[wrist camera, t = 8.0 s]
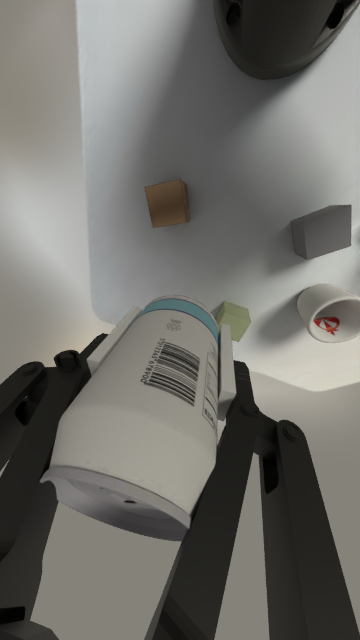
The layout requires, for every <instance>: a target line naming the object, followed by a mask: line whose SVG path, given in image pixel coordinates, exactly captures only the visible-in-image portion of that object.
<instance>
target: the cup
mask: <svg viewBox="0 0 360 640" xmlns="http://www.w3.org/2000/svg"><path fill="white" fill-rule="evenodd" d="M297 309H298V312H299V314H300V316H301V318H302V320H303V322H304V324H305V326H306V328H307V330H308V332H309V333H310V335H311V336H312V337H313V338H315V339H317V340H319V341H322V342H326V343H339V342H344V341H347V340H350V339H353V338H355V337H357V336H358V335H360V296H357V295H354V294H352V293H350V292H347V291H345V290H343V289H340V288H338V287H336V286H333V285H329V284H318V285H314V286H311V287H309V288H307V289H306V290H305V291H303V292H302V293H301V295H300V296H299V298H298V300H297Z"/></svg>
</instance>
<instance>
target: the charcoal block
mask: <svg viewBox="0 0 360 640" xmlns="http://www.w3.org/2000/svg"><path fill="white" fill-rule="evenodd" d="M291 226H292V234H293V242H294V250H295V253H296V254H297V255H299V256H301V257H303V258H304V259H306V260H309V259H312V258H315V257H318V256H322V255H325V254H328V253H331V252H334V251H337V250H340V249H343V248H346V247H350V246H351V205H333V206H328V207H325V208H323V209H320V210H318V211H315V212H313V213H310V214H308V215H305V216H303V217H300V218H298V219H295V220H293V221H291Z"/></svg>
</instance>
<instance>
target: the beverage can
mask: <svg viewBox="0 0 360 640" xmlns="http://www.w3.org/2000/svg"><path fill="white" fill-rule="evenodd" d="M218 338H219V332H218V325H217V322H216V320H215V318H214V316H213V315H212V313H211V312H210V311H209V310H208V309H207V308H206V307H205V306H204V305H202V304H201V303H199V302H198V301H196V300H194V299H191V298H188V297H185V296H179V295H168V296H163V297H160V298H157V299H155V300H153V301H152V302H150V303H149V304H148V305H147V306H146V307H145V309H144V310H143V311H142V312H141V314H140V315H139V316H138V318H137V319H136V320H135V322H134V323H133V324H132V325H131V327H130V328H129V329H128V331H127V332H126V333H125V335H124V336H123V337H122V338H121V340H120V341H119V342H118V344H117V345H116V346H115V347H114V349H113V350H112V351H111V353H110V354H109V355H108V357H107V358H106V359H105V360H104V362H103V363H102V364H101V366H100V367H99V368H98V370H97V371H96V372H95V373H94V375H93V376H92V377H91V379H90V380H89V381H88V383H87V384H86V385H85V386H84V388H83V389H82V390H81V392H80V393H79V394H78V395H77V397H76V398H75V399H74V401H73V402H72V403H71V405H70V406H69V407H68V408H67V410H66V411H65V412H64V414H63V415H62V417H61V419H60V421H59V424H58V429H57V434H56V439H55V443H54V448H53V453H52V457H51V462H50V467H49V470H47V471H46V472H45V473H44V475H43V476H42V478H41V479H40V482H41V483H43V482H45V481H48V480H50V481H51V482H52V483H53V484H54V485H55V488H56V493H57V500H58V501H59V502H61V503H63V504H64V505H66V506H68V507H70V508H72V509H74V510H76V511H78V512H80V513H82V514H84V515H87V516H89V517H92V518H94V519H96V520H99V521H101V522H104V523H106V524H109V525H112V526H115V527H118V528H120V529H124V530H127V531H130V532H133V533H137V534H140V535H144V536H148V537H153V538H157V539H163V540H170V541H182V540H183V538H184V536H185V534H186V532H187V529H188V530H190V528H191V525H192V522H193V517H194V515H195V512H196V510H197V507H198V505H199V502H200V499H201V497H202V494H203V492H204V489H205V487H206V484H207V481H208V479H209V476H210V474H211V472H212V470H213V469H214V466H215V463H216V456H217V415H218Z"/></svg>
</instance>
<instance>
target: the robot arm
mask: <svg viewBox="0 0 360 640" xmlns="http://www.w3.org/2000/svg"><path fill="white" fill-rule="evenodd" d="M359 4H360V0H214V7H215V15H216V20H217V25H218V29H219V33H220V36H221V39H222V42H223V44H224V46H225V49H226V51H227V52H228V54H229V56H230V57H231V59H232V60H233V62H234V63H235V64H236V65H237V66H238V67H239V68H240V69H241V70H242V71H244V72H245V73H247V74H248V75H250V76H252V77H255V78H259V79H278V78H282V77H285V76H288V75H290V74H292V73H294V72H296V71H298V70H300V69H302V68H303V67H305V66H306V65H307V64H309V63H310V62H311V61H313V60H314V59H315V58H316V57H317V56H319V55H320V54H321V53H322V52H323V51H324V50H325V49H326V48H327V47H328V46H329V45H330V44H331V42H332V41H333V40H334V39H335V38H336V37H337V35H338V34H339V33H340V32H341V30H342V29H343V28H344V26H345V25H346V23H347V22H348V21H349V19H350V18H351V16H352V15H353V13H354V12H355V10H356V9H357V7H358V6H359ZM141 312H142V308H137V307H133V308H132V309H131V310H130V311H129V312H128V314H127V315H126V316H125V317H124V318H123V319H122V320H121V321H120V323H119V324H118V325H117V326H116V327H115V328H114V329H113V330H112V332H111V333H110V334H104V333H102V334H101V335H99V336H97V337H96V338H95V339H94V340H93V341H92V342H91V343H90V344H89V345H88V346H87V347H86V348H85V349H84V350H83V351H82V352H81V353H80V354H79V353H78V352H77V351H75V350H67V351H63V352H61V353H59V354H57V355H56V356H55V357H54V361H55V364H56V366H57V367H44V365H43V364H42V363H41V362H30V363H27V364H24V365H22V366H21V367H20V368H18V369H17V370H16V371H15V372H14V373H13V374H12V375H10V376H9V377H8V378H7V379H6V380H5V381H4V382H3V383H2V384H1V385H0V471H1V470H2V468H3V467H4V466H5V464H6V463H7V461H8V460H9V459H10V460H9V462H8V464H7V466H6V467H5V469H4V471H3V473H2V475H1V477H0V640H59V639H58V638H57V637H56V635H55V634H54V633H53V631H52V630H51V629H49V628H47V627H44V626H42V625H39V624H37V623H34V622H32V621H30V618H31V614H32V611H33V607H34V604H35V600H36V596H37V593H38V589H39V585H40V581H41V575H42V559H43V554H44V550H45V546H46V543H47V539H48V535H49V532H50V529H51V525H52V522H53V519H54V515H55V512H56V508H57V505H58V500H57V493H56V488H55V485H54V484H53V483H52V482H51V481H50V480H48V481H45V482H43V483H41V482H40V479H41V478H42V476H43V475H44V473H45V472H46V471H47V470H49V467H50V462H51V457H52V453H53V448H54V443H55V439H56V434H57V429H58V424H59V421H60V419H61V417H62V415H63V414H64V412H65V411H66V410H67V408H68V407H69V406H70V405H71V403H72V402H73V401H74V399H75V398H76V397H77V395H78V394H79V393H80V392H81V390H82V389H83V388H84V386H85V385H86V384H87V383H88V381H89V380H90V379H91V377H92V376H93V375H94V373H95V372H96V371H97V370H98V368H99V367H100V366H101V364H102V363H103V362H104V360H105V359H106V358H107V357H108V355H109V354H110V353H111V351H112V350H113V349H114V347H115V346H116V345H117V344H118V342H119V341H120V340H121V338H122V337H123V336H124V335H125V333H126V332H127V331H128V329H129V328H130V327H131V325H132V324H133V323H134V322H135V320H136V319H137V318H138V316H139V315H140V314H141ZM26 396H27V397H26ZM25 397H26V398H25ZM225 417H226V425H225V427H224V430H223V432H222V436H221V438H220V441H219V443H218V446H217V456H216V463H215V466H214V469H213V470H212V472H211V474H210V476H209V479H208V481H207V484H206V487H205V489H204V492H203V494H202V497H201V499H200V502H199V505H198V507H197V510H196V512H195V515H194V517H193V522H192V525H191V528H190V530H188V529H187V532H186V534H185V536H184V538H183V540H182V542H181V545H180V548H179V550H178V553H177V556H176V559H175V561H174V564H173V566H172V569H171V572H170V575H169V577H168V580H167V583H166V585H165V588H164V591H163V593H162V596H161V598H160V601H159V604H158V606H157V608H156V611H155V613H154V616H153V618H152V621H151V623H150V626H149V628H148V631H147V634H146V636H145V639H144V640H214V637H215V633H216V628H217V623H218V618H219V613H220V609H221V604H222V599H223V594H224V590H225V585H226V580H227V575H228V571H229V566H230V561H231V556H232V551H233V547H234V542H235V537H236V532H237V528H238V523H239V518H240V513H241V508H242V503H243V499H244V494H245V490H246V485H247V480H248V475H249V470H250V466H251V460H252V456H253V452H254V453H256V454H257V455H259V467H260V484H261V500H262V518H263V534H264V551H265V567H266V568H265V569H266V586H267V602H268V619H269V635H270V640H360V634H359V631H358V627H357V623H356V620H355V616H354V612H353V609H352V605H351V601H350V598H349V594H348V590H347V587H346V583H345V579H344V576H343V572H342V568H341V565H340V561H339V557H338V554H337V550H336V546H335V543H334V539H333V535H332V532H331V528H330V525H329V521H328V517H327V513H326V510H325V506H324V502H323V499H322V495H321V491H320V488H319V484H318V481H317V477H316V473H315V469H314V466H313V462H312V458H311V455H310V451H309V447H308V444H307V440H306V437H305V435H304V433H303V432H302V430H301V429H300V428H299V427H298V426H297V425H295V424H294V423H293V422H290V421H288V420H281V421H279V422H276V421H274V420H273V419H271V418H269V417H267V416H266V415H264V414H263V413H262V412H260V410H259V408H258V407H257V405H256V404H255V402H254V397H253V391H252V386H251V382H250V376H249V369H248V367H247V366H246V364H245V363H244V362H240V361H235V360H233V351H232V340H231V328H230V325H227V324H222V323H221V325H220V329H219V338H218V415H217V420H221V421H224V419H225ZM10 457H11V458H10Z"/></svg>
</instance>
